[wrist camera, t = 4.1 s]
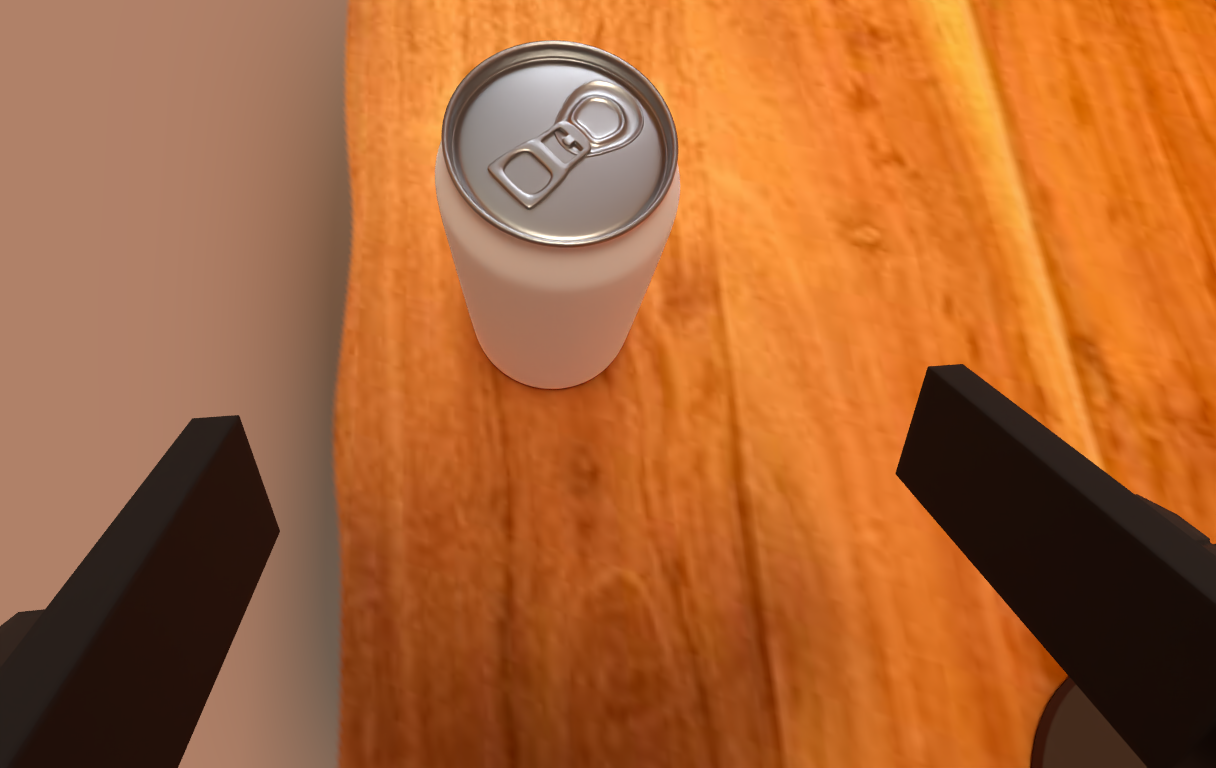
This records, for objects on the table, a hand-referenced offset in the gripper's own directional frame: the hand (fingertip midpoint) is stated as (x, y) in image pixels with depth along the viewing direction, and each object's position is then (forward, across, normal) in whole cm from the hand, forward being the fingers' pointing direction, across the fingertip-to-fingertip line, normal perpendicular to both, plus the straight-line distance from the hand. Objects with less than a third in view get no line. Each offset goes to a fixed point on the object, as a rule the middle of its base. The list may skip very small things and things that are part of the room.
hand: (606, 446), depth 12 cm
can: (+14, 0, -4) cm, 15 cm away
